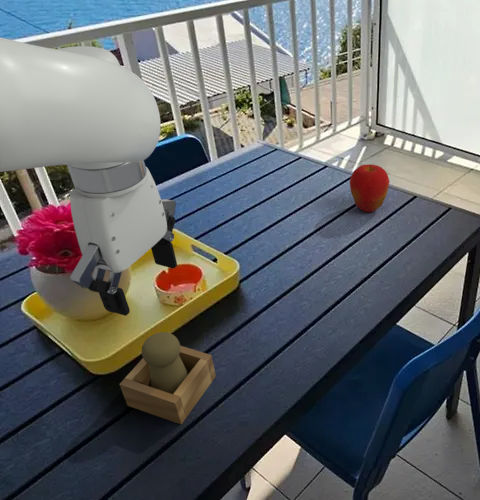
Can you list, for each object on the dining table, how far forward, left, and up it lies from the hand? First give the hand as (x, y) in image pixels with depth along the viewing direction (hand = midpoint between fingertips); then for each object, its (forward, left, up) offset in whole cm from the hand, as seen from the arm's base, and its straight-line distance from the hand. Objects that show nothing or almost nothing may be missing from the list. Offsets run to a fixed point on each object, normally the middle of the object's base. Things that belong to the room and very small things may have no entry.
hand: (143, 287), depth 65 cm
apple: (+62, -12, -21) cm, 66 cm away
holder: (0, 0, -21) cm, 21 cm away
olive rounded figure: (0, 0, -21) cm, 21 cm away
